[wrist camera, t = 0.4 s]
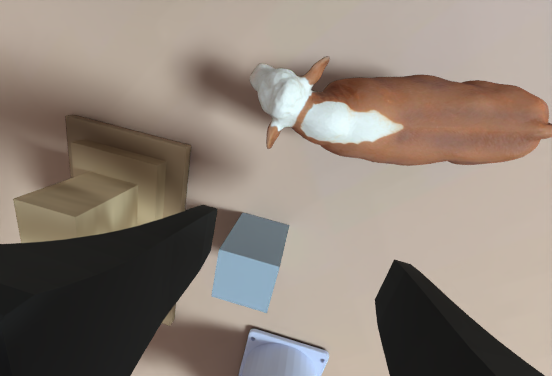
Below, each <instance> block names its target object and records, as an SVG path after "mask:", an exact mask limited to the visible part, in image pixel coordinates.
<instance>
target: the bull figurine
mask: <svg viewBox="0 0 552 376" xmlns="http://www.w3.org/2000/svg"><path fill="white" fill-rule="evenodd" d="M328 62H329V56H326V57H324V58H322V59H321V60H319V61H318V62H317V63H315V64H314V65H313V66H312V68H311V69H310V70H309V72H308V73H306V74H305V75H303V76H300V77H299V76H296V75H295V73H294V72H293V71H291V70H288V69H284V68H278V69H275V68H274V67H272V66H270V65H268V64H263V63H260V64H258V65H257V67H256V68H255V69H254V71H253V72H252V74H251V76H250V82H251V85H252V86H253V88H254V89H255V90H256V91H257V92H258V98H259V101H260V103H261V106H262V109H263V110H264V111H265V112H266V113H268V114H269V115H271V116H272V121H271V123H270V125H269V127H268V130H267V140H266V143H267V148H268V149H270V148H271V147H272V146H273V144H274V142H275V140H276V139H277V137H278V136H279V134H280V132H281V130H282V129H283V128H284V127H292V128H293V129H294V130H295V131H296V132H297V133H298V134H300V135H301V136H302V137H303V138H305V139H307V140H309V141H310V142H313V143H315V144H319V145H321V146H322V147H323V148H324V149H326V150H328V151H330V152H332V153H334V154H337V155H339V156H344V157H352V158H361V159H365V160H368V161H372V162H378V163H388V164H396V165H407V166H410V165H423V164H431V163H436V162H443V161H448V162H451V163H454V164H461V165H476V164H487V163H497V162H504V161H510V160H514V159H518V158H521V157H523V156H525V155H527V154H528V153H530V152H531V151H533V150H534V149H535V148H536V147H537V146H538V144H539V142H540V140H541V139H546V138H550V137H552V124H550V123H548V118H549V111H548V106H547V104H546V102H544V101H543V100H542V99H540V98H539V97H537V96H535V95H533V94H531V93H529V92H527V91H525V90H524V89H522V88H520V87H517V86H513V85H503V84H496V83H492V82H487V81H479V80H476V81H466V82H462V83H459V82H452V81H448V80H445V79H442V78H439V77H435V76H430V75H413V76H405V77H376V78H348V79H341V80H336V81H334V82H332V83H330V84H329V85H328V86H327V87H326V88H325V89H324V90H323V92H316V91H312V90H311V88H312V86H313V85H314V84H315V83H316V82H317V81H318V80H319V79H320V77H321V75H322V73H323V71H324V69H325V67H326V66H327V64H328Z"/></svg>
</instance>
